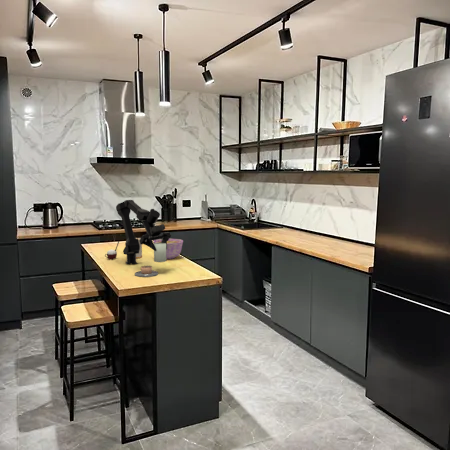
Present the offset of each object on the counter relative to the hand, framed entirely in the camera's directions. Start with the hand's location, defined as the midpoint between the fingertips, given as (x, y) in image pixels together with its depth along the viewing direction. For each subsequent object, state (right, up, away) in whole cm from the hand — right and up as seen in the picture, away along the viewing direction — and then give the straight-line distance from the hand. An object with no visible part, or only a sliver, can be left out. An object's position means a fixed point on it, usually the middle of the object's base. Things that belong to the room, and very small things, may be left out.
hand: (161, 249), depth 238 cm
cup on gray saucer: (-8, -14, -2) cm, 16 cm away
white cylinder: (-1, -6, +2) cm, 7 cm away
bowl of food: (-2, -8, +44) cm, 45 cm away
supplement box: (-24, -8, +45) cm, 52 cm away
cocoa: (-39, -9, +40) cm, 56 cm away
